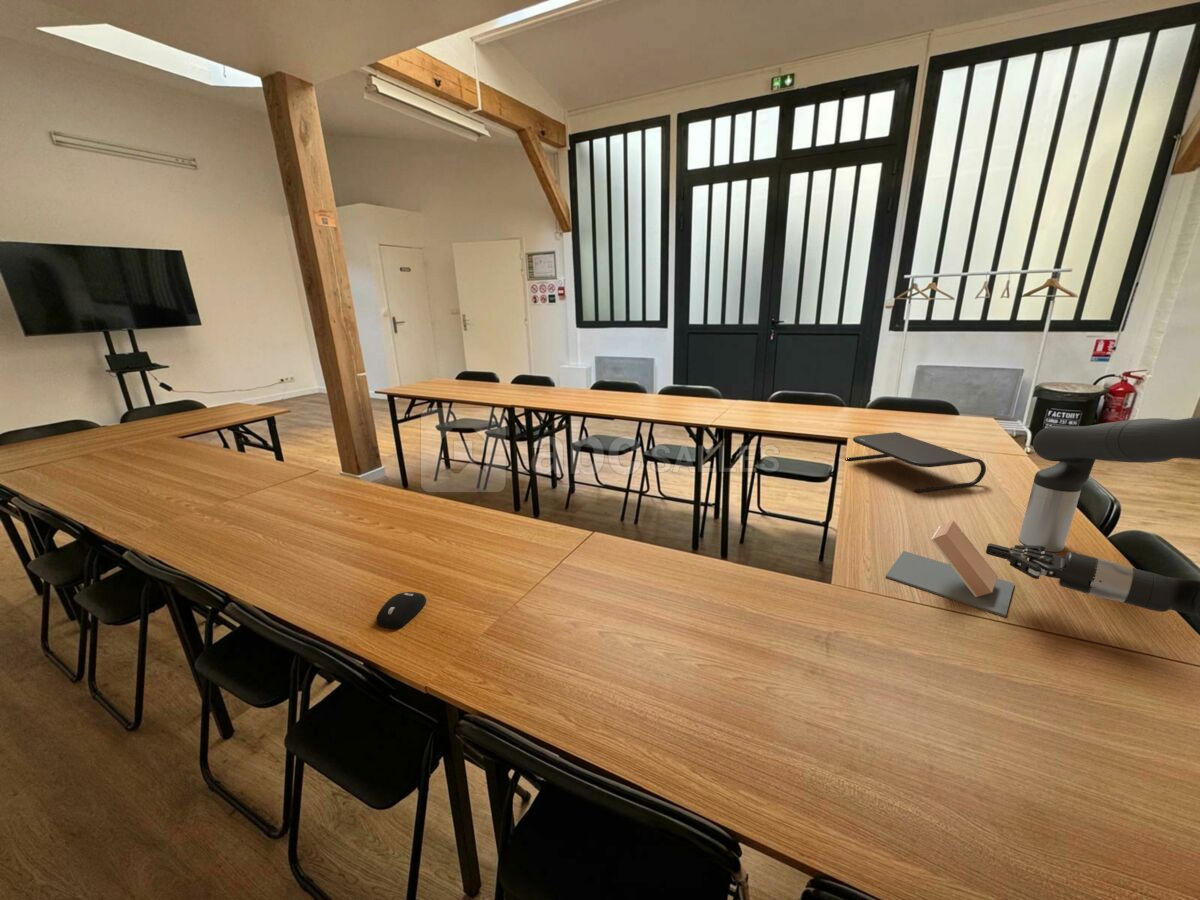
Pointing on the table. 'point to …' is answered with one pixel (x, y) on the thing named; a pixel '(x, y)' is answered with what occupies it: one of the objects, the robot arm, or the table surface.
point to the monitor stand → (916, 455)
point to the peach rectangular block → (964, 559)
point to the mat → (948, 583)
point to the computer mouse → (400, 609)
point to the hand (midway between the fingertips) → (987, 548)
